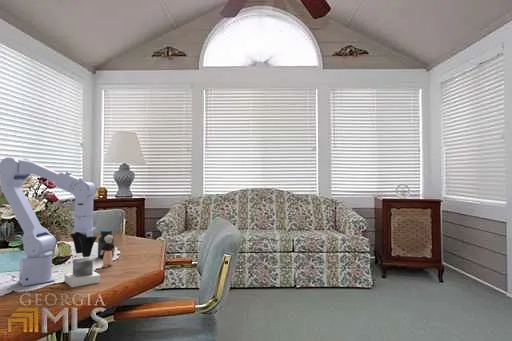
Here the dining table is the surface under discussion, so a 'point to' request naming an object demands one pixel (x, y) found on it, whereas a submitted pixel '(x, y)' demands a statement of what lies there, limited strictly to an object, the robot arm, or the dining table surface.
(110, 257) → the grandmother figurine
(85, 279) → the cream base block
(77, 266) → the slate block
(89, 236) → the robot arm
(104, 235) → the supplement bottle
